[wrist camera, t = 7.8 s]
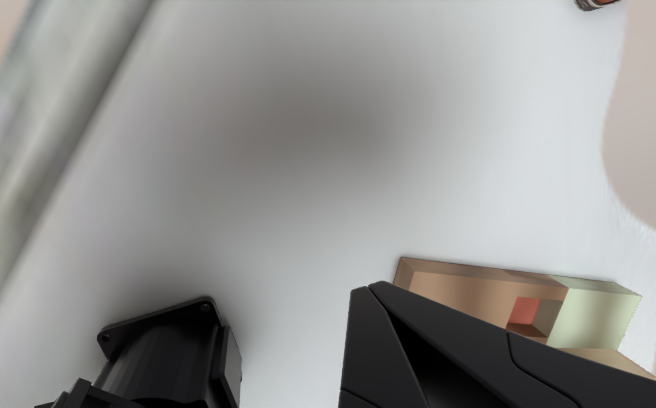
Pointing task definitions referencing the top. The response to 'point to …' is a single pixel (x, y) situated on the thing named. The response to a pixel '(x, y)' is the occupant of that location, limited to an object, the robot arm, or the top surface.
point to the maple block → (610, 359)
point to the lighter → (594, 4)
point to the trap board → (528, 301)
